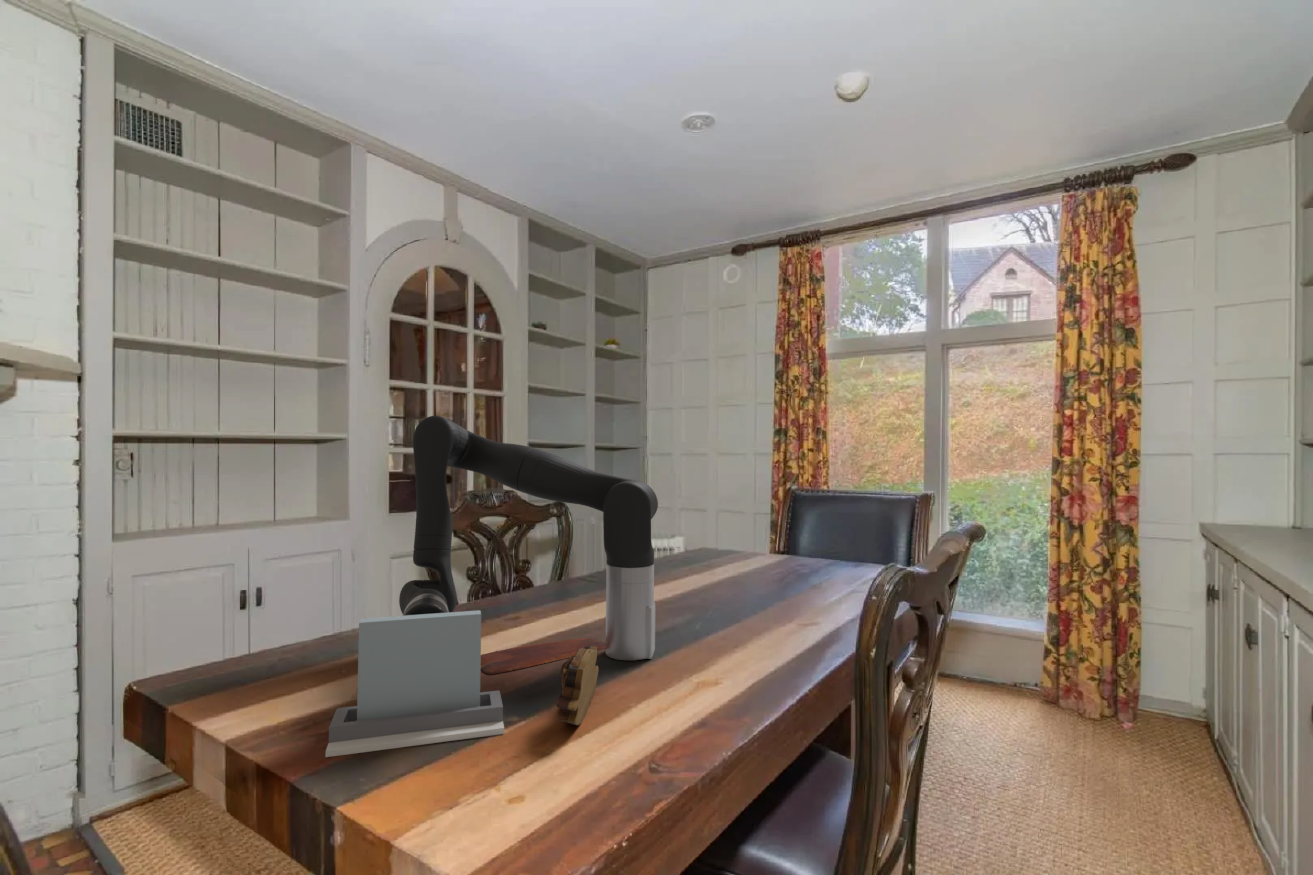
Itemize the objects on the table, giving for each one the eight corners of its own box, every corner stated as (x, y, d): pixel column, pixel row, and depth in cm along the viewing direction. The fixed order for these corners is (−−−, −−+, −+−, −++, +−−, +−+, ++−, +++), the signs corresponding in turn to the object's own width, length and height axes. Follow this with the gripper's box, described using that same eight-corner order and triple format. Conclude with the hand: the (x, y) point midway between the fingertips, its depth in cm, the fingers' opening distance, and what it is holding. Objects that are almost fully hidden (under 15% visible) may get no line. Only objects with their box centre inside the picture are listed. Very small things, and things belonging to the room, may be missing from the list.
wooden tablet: (489, 680, 108) (489, 670, 108) (467, 664, 116) (467, 655, 116) (617, 650, 124) (617, 642, 124) (590, 638, 132) (590, 630, 132)
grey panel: (477, 696, 97) (478, 602, 98) (479, 717, 89) (481, 614, 90) (363, 709, 92) (366, 609, 93) (356, 732, 84) (358, 623, 85)
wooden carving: (571, 696, 100) (571, 632, 100) (599, 696, 99) (600, 633, 100) (550, 744, 83) (551, 668, 83) (584, 744, 83) (585, 668, 83)
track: (497, 703, 96) (498, 684, 97) (504, 733, 86) (504, 713, 86) (339, 721, 89) (339, 701, 90) (325, 757, 79) (325, 734, 79)
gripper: (380, 600, 105) (369, 625, 89) (469, 594, 109) (473, 618, 94) (379, 645, 104) (368, 679, 89) (469, 638, 109) (472, 668, 94)
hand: (422, 647), depth 91 cm, fingers open, 8 cm apart
